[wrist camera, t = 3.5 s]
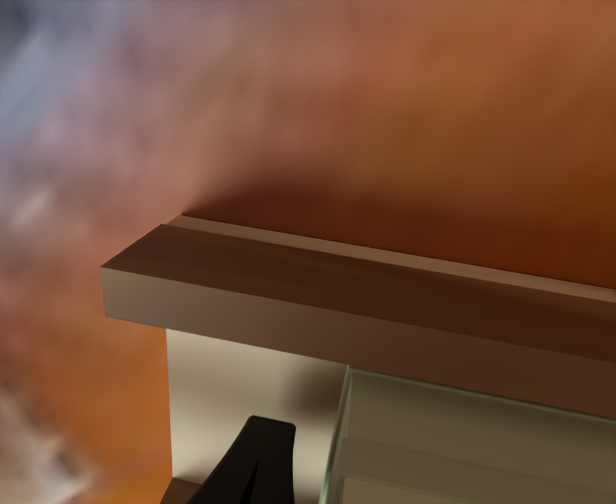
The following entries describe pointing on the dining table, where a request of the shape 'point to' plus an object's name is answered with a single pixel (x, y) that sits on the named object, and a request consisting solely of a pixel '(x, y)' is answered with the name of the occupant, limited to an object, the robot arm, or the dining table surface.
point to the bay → (342, 334)
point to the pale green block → (462, 447)
